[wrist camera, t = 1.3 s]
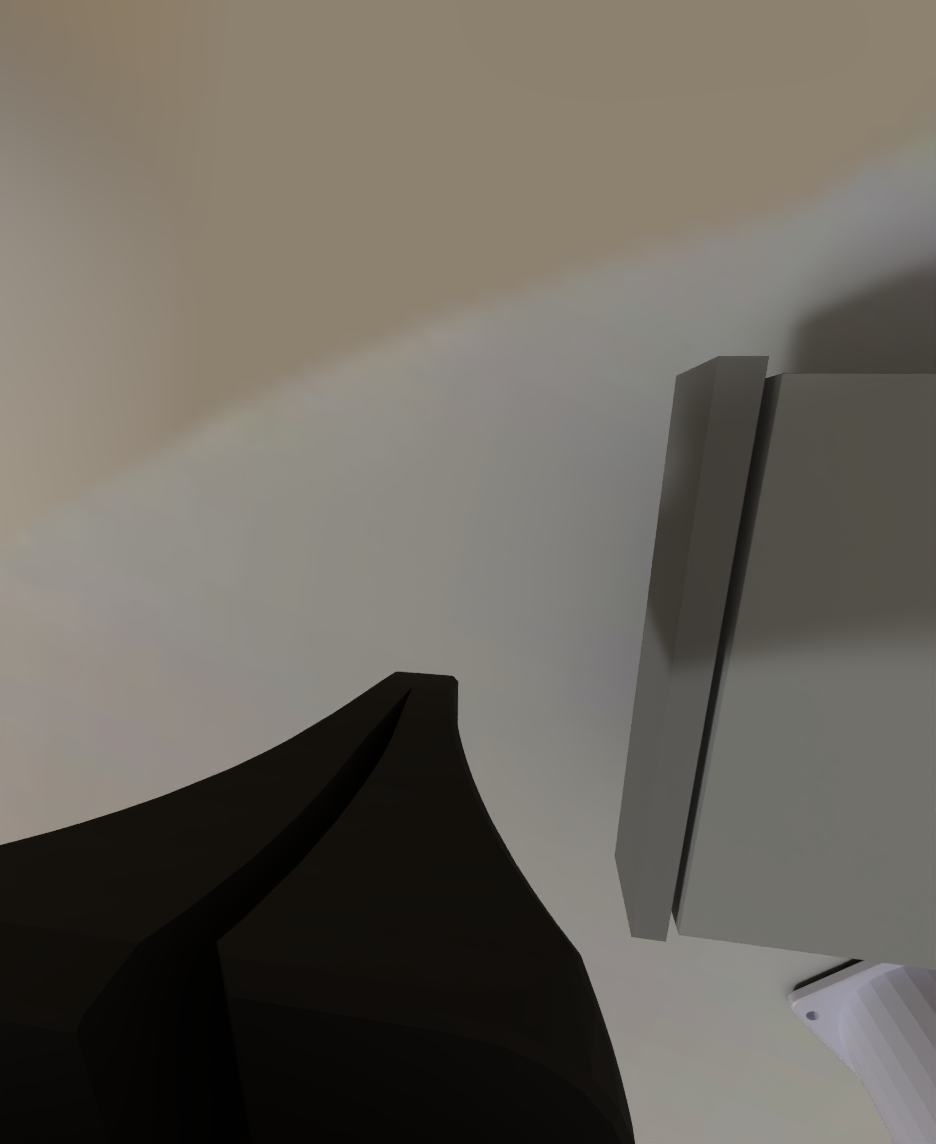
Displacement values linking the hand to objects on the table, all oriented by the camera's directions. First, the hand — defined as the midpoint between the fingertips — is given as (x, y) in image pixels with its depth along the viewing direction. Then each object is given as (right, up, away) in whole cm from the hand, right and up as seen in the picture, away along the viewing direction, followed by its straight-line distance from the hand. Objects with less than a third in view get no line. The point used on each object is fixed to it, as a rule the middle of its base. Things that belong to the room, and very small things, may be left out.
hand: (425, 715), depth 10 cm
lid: (+12, 0, +3) cm, 13 cm away
